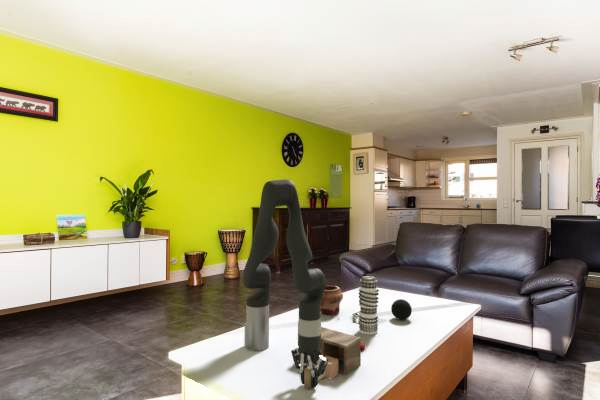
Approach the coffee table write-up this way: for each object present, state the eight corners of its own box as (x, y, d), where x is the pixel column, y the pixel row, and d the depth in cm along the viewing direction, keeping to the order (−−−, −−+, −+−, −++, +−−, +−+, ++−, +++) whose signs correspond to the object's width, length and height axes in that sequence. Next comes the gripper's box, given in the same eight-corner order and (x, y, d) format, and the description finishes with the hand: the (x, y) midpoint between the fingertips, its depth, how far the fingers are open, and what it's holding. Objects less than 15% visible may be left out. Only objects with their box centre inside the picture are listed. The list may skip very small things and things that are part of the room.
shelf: (300, 359, 136) (300, 332, 136) (316, 350, 144) (316, 325, 144) (346, 375, 124) (346, 346, 124) (360, 365, 132) (360, 337, 132)
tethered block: (299, 386, 116) (300, 367, 116) (326, 369, 128) (326, 352, 128) (312, 391, 113) (312, 372, 113) (338, 373, 125) (338, 356, 125)
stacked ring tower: (378, 335, 161) (379, 279, 161) (357, 333, 163) (358, 278, 163) (378, 328, 170) (378, 275, 170) (358, 327, 172) (359, 274, 172)
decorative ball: (407, 324, 177) (407, 303, 177) (388, 319, 183) (388, 300, 183) (414, 318, 185) (414, 299, 185) (395, 315, 191) (395, 296, 191)
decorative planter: (326, 320, 181) (327, 293, 181) (307, 315, 188) (307, 289, 188) (348, 311, 196) (348, 285, 196) (329, 307, 204) (329, 282, 204)
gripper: (285, 329, 117) (284, 382, 117) (320, 340, 109) (320, 397, 109) (299, 323, 123) (299, 374, 123) (334, 333, 114) (334, 387, 114)
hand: (309, 384), depth 116 cm, fingers closed on tethered block, 3 cm apart
